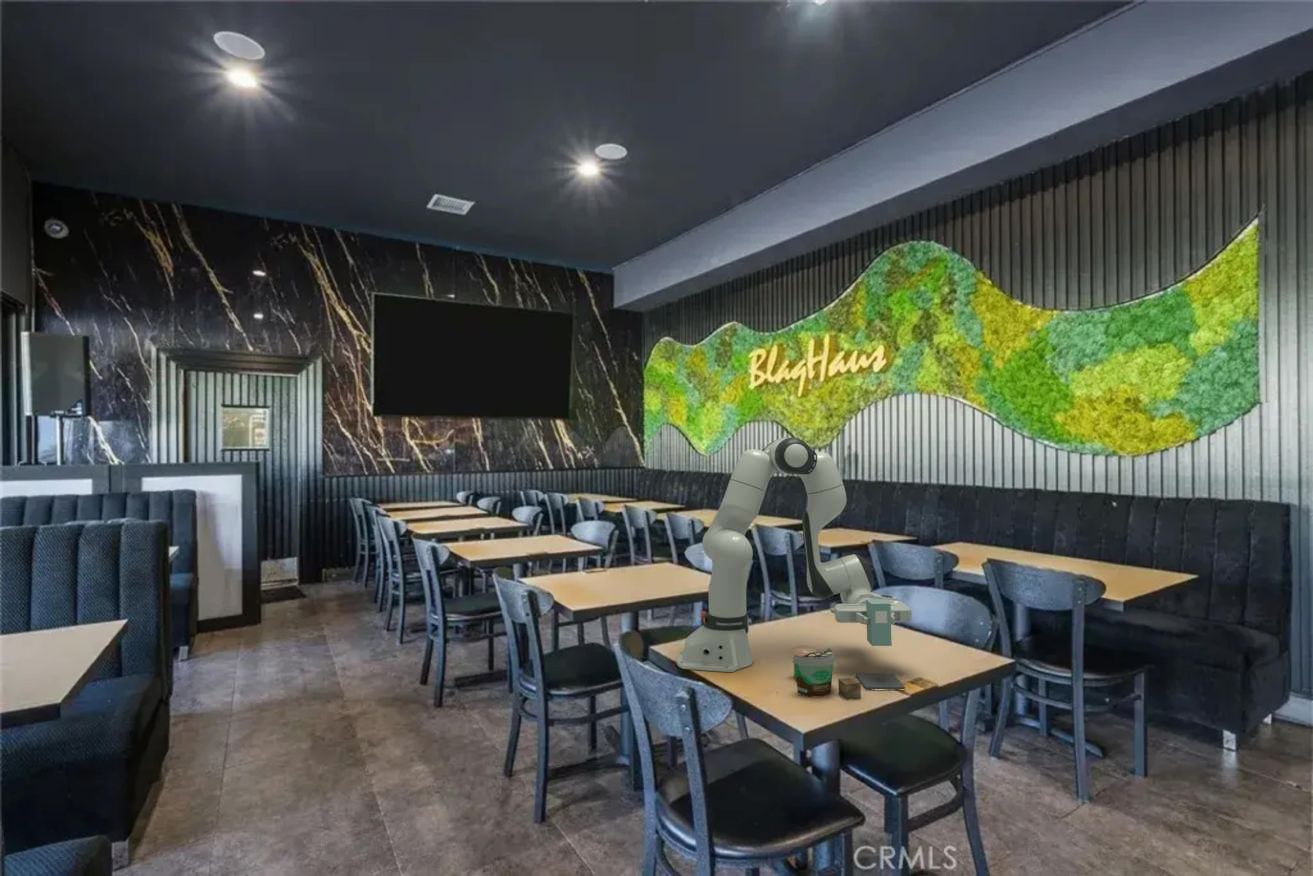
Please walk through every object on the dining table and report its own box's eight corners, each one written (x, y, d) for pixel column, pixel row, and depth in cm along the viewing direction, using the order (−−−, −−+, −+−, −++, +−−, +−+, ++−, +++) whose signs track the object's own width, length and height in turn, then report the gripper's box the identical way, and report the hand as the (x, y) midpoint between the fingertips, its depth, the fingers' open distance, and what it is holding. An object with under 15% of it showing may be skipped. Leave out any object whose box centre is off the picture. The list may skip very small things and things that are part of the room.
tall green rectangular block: (872, 646, 169) (871, 604, 169) (867, 640, 174) (865, 599, 174) (891, 646, 169) (890, 603, 169) (885, 640, 174) (884, 599, 174)
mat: (865, 690, 167) (865, 687, 167) (856, 676, 177) (855, 673, 177) (905, 690, 166) (905, 687, 166) (893, 676, 176) (893, 673, 176)
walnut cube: (846, 700, 161) (845, 684, 161) (838, 694, 165) (838, 678, 165) (860, 699, 161) (860, 682, 161) (853, 693, 165) (852, 677, 165)
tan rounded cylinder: (795, 683, 173) (795, 653, 173) (792, 675, 179) (791, 646, 179) (818, 683, 172) (818, 653, 172) (814, 675, 178) (813, 645, 178)
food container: (809, 702, 160) (808, 661, 160) (793, 693, 165) (792, 654, 165) (846, 692, 165) (845, 653, 166) (830, 684, 171) (829, 646, 171)
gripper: (828, 596, 185) (839, 609, 171) (901, 596, 184) (918, 608, 170) (829, 619, 185) (839, 633, 171) (901, 618, 184) (918, 632, 170)
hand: (879, 621), depth 171 cm, fingers closed on tall green rectangular block, 5 cm apart
